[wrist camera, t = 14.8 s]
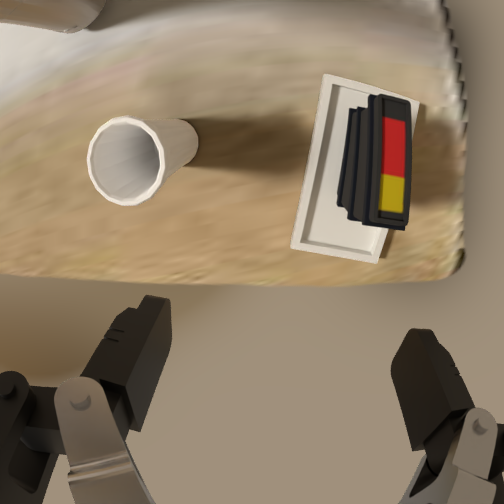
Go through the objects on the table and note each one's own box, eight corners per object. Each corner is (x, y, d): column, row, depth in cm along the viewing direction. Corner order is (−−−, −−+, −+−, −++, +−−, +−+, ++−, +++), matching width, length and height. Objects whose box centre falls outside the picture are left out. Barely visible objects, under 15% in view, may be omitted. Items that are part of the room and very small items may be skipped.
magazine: (330, 223, 37) (368, 225, 22) (337, 121, 36) (373, 70, 21) (359, 226, 37) (411, 231, 22) (365, 126, 36) (412, 81, 21)
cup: (187, 184, 39) (143, 223, 26) (137, 154, 37) (75, 180, 25) (218, 130, 35) (184, 143, 23) (164, 101, 34) (106, 100, 21)
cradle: (322, 75, 31) (325, 73, 29) (413, 102, 31) (419, 102, 29) (290, 241, 41) (290, 248, 39) (373, 257, 41) (376, 263, 39)
